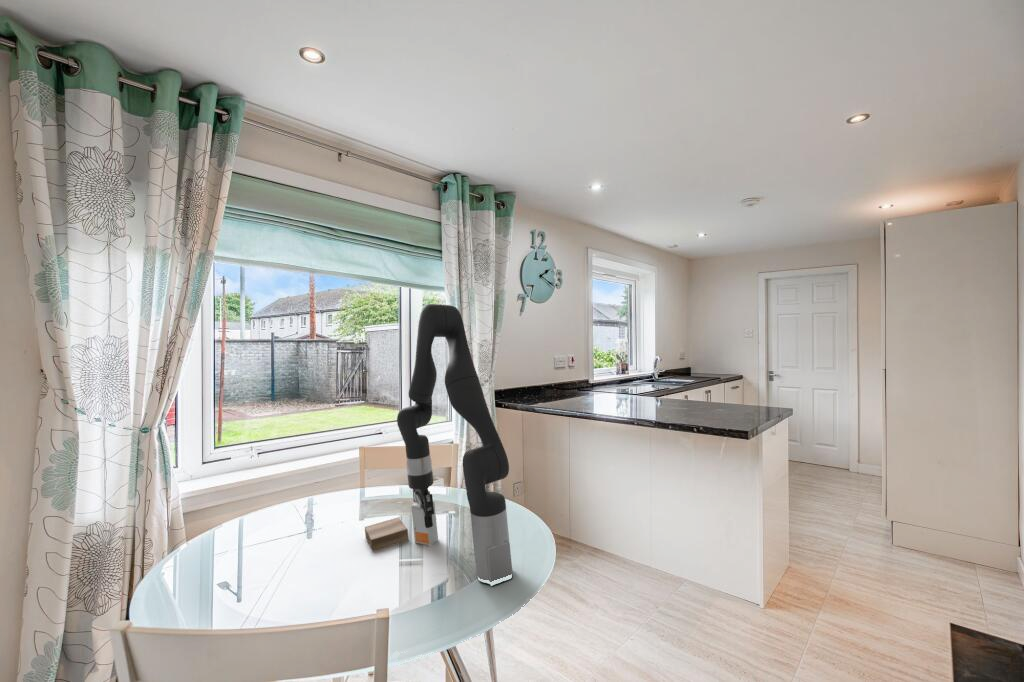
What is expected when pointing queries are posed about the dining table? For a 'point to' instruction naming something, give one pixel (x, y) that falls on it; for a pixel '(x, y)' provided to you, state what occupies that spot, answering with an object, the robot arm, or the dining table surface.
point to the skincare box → (423, 526)
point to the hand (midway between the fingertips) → (425, 522)
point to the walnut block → (386, 534)
